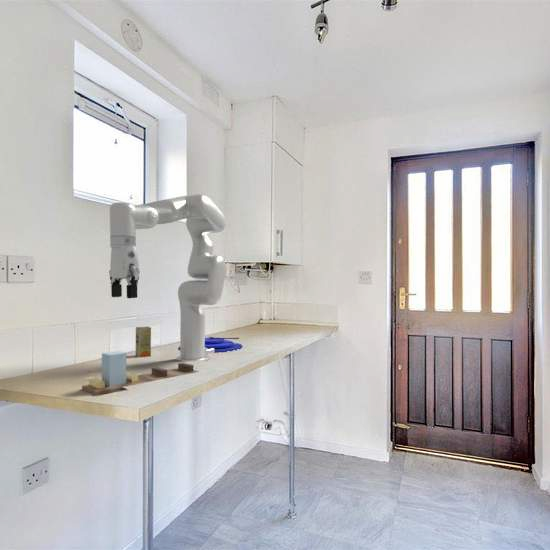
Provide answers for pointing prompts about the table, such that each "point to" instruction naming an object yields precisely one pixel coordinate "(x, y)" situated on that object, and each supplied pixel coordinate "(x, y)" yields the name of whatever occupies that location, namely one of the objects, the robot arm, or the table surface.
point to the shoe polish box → (143, 341)
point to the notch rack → (137, 379)
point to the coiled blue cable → (221, 344)
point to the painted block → (114, 368)
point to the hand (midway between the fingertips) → (124, 297)
